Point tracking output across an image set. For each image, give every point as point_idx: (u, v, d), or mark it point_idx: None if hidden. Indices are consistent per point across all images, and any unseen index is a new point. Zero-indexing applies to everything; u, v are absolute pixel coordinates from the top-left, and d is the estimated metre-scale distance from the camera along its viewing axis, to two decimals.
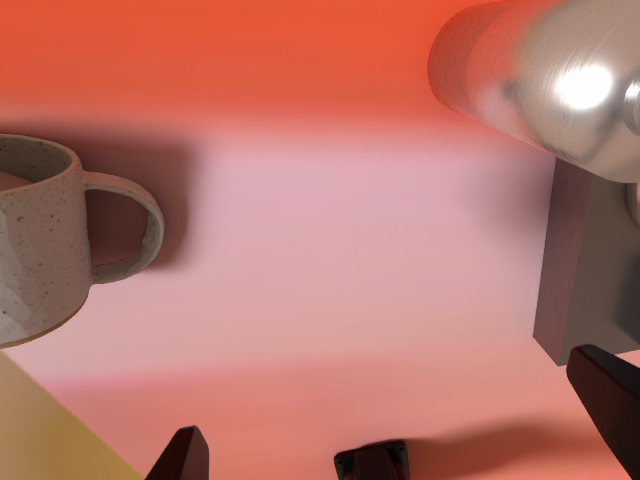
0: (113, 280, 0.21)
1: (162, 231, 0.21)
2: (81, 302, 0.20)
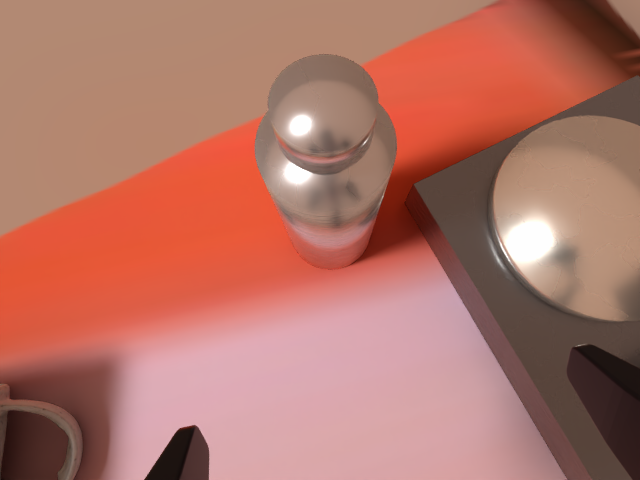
0: None
1: (74, 453, 0.20)
2: None
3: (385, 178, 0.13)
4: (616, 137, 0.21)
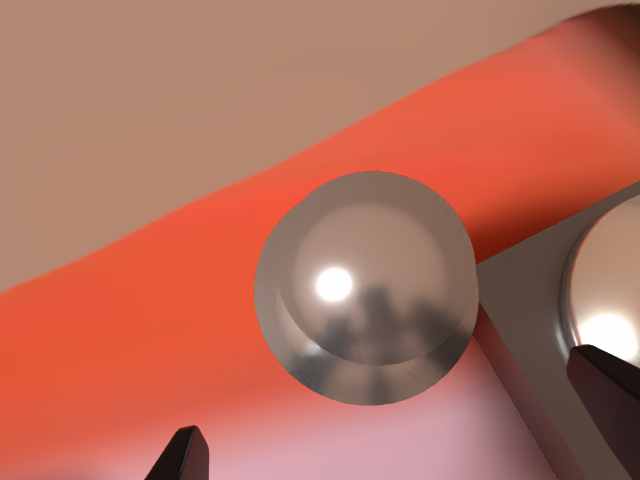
0: None
1: None
2: None
3: (463, 348, 0.08)
4: None
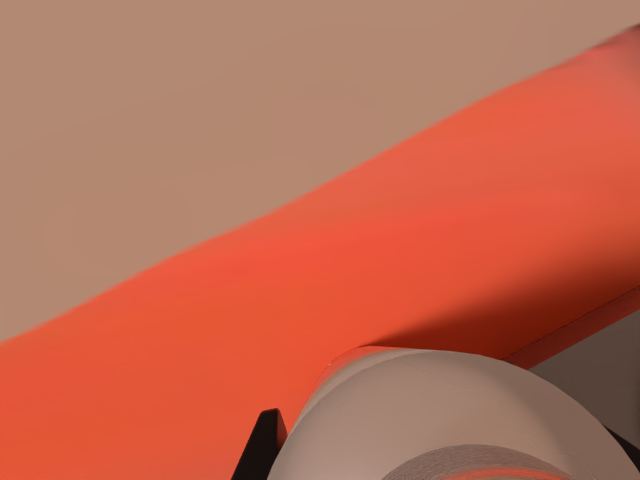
0: None
1: None
2: None
3: None
4: None
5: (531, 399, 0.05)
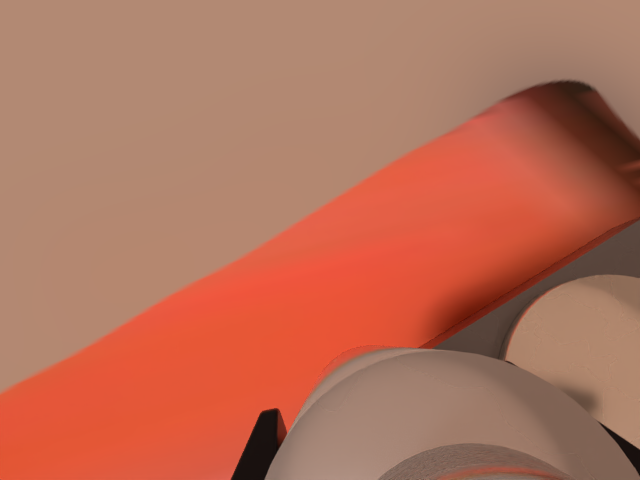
0: None
1: None
2: None
3: None
4: (636, 301, 0.18)
5: (529, 398, 0.05)
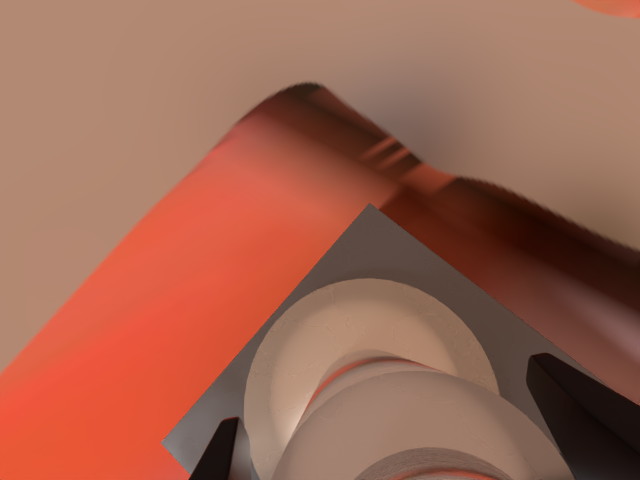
0: None
1: None
2: None
3: None
4: (358, 303, 0.18)
5: (485, 410, 0.06)
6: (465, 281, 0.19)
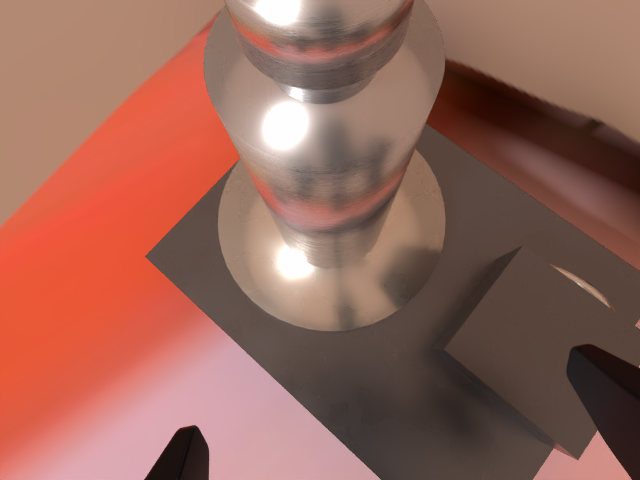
0: None
1: None
2: None
3: (427, 108, 0.08)
4: None
5: None
6: None
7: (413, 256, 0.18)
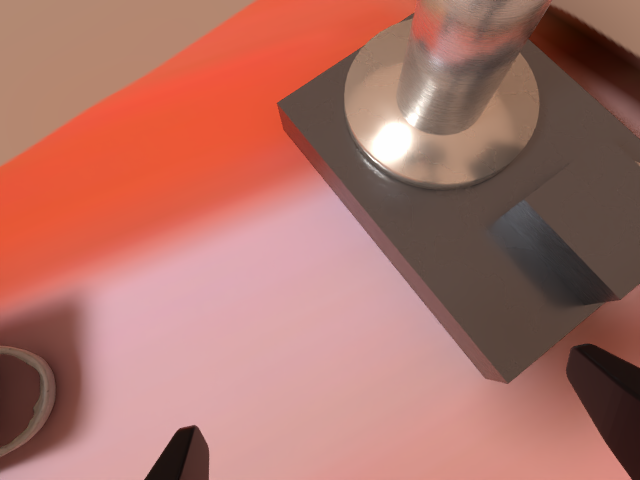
0: None
1: (46, 385, 0.21)
2: None
3: None
4: None
5: None
6: (527, 41, 0.24)
7: (505, 138, 0.21)
